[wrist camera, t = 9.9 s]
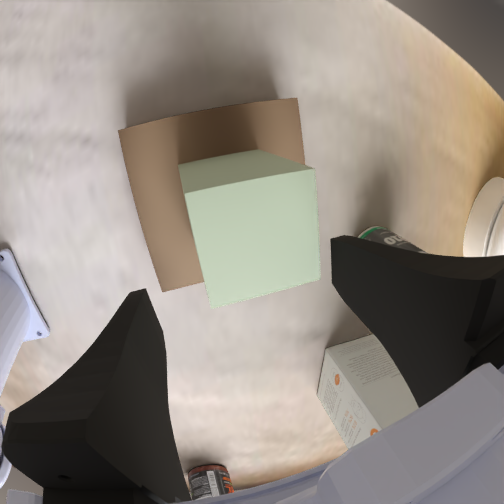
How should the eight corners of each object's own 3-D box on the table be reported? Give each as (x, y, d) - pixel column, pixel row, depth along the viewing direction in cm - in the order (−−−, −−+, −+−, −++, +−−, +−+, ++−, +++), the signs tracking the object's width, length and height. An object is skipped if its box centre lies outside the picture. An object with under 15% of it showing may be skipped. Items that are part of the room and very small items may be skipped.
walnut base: (162, 270, 21) (162, 292, 18) (125, 129, 16) (118, 130, 14) (294, 236, 23) (312, 253, 20) (279, 100, 18) (297, 97, 16)
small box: (361, 380, 34) (416, 457, 22) (315, 395, 32) (365, 483, 21) (375, 331, 30) (449, 414, 19) (324, 346, 29) (393, 447, 17)
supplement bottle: (233, 472, 37) (253, 533, 27) (198, 481, 36) (213, 542, 26) (218, 459, 34) (238, 529, 24) (179, 469, 33) (193, 538, 23)
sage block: (194, 240, 18) (211, 308, 11) (177, 164, 15) (184, 193, 9) (267, 223, 18) (320, 279, 12) (258, 149, 16) (314, 168, 10)
